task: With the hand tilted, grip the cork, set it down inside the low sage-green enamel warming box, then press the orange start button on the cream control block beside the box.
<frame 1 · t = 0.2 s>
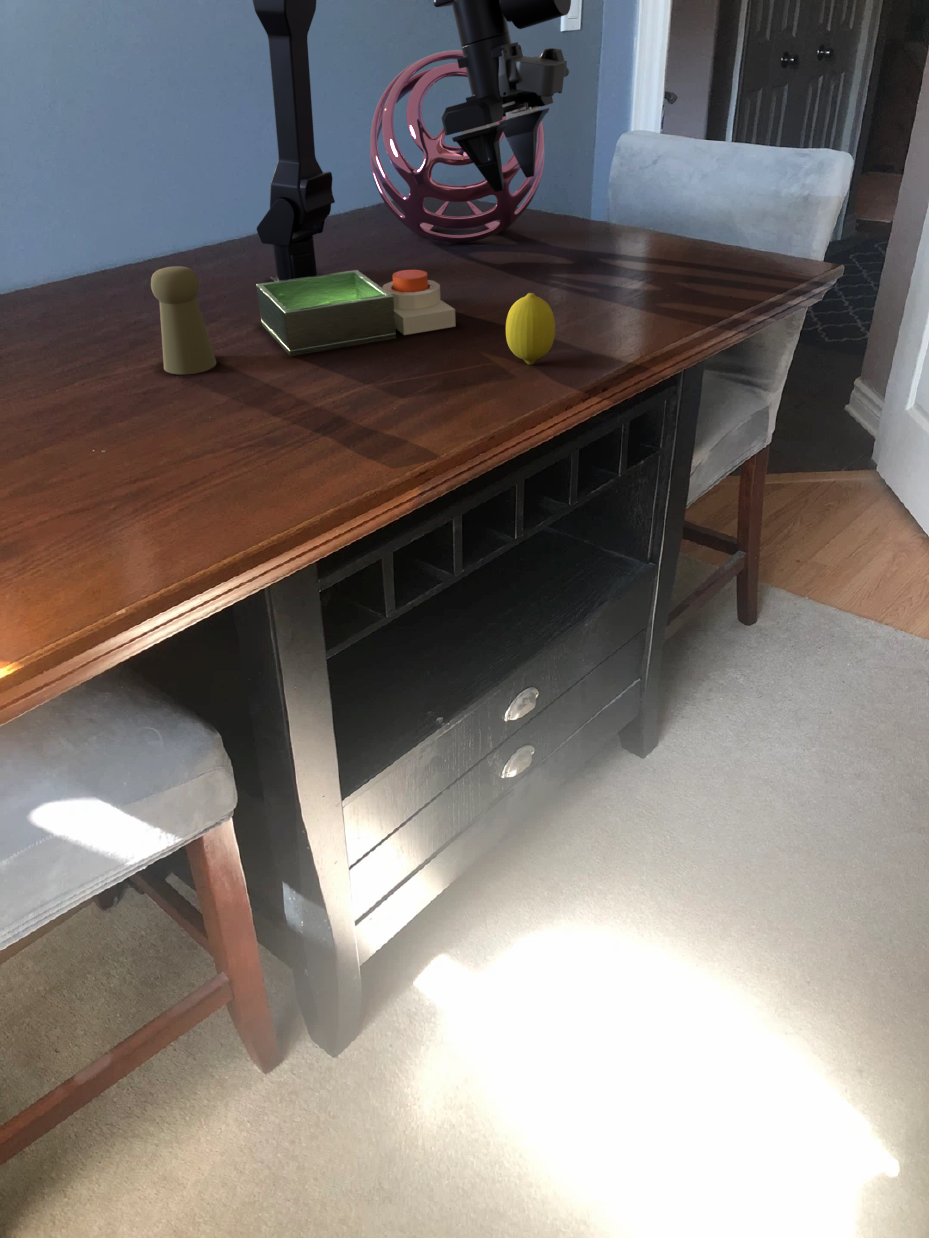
hand: (515, 183, 121), 15 cm above the table, tool pointing down, fingers open, 9 cm apart
start button: (410, 282, 125), point 5 cm above the table, slide at 0.1 cm
control block: (412, 318, 128), on the table
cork: (190, 367, 115), on the table
warming box: (327, 331, 124), on the table
lemon: (530, 366, 113), on the table
pink openwork sphere: (457, 238, 163), on the table
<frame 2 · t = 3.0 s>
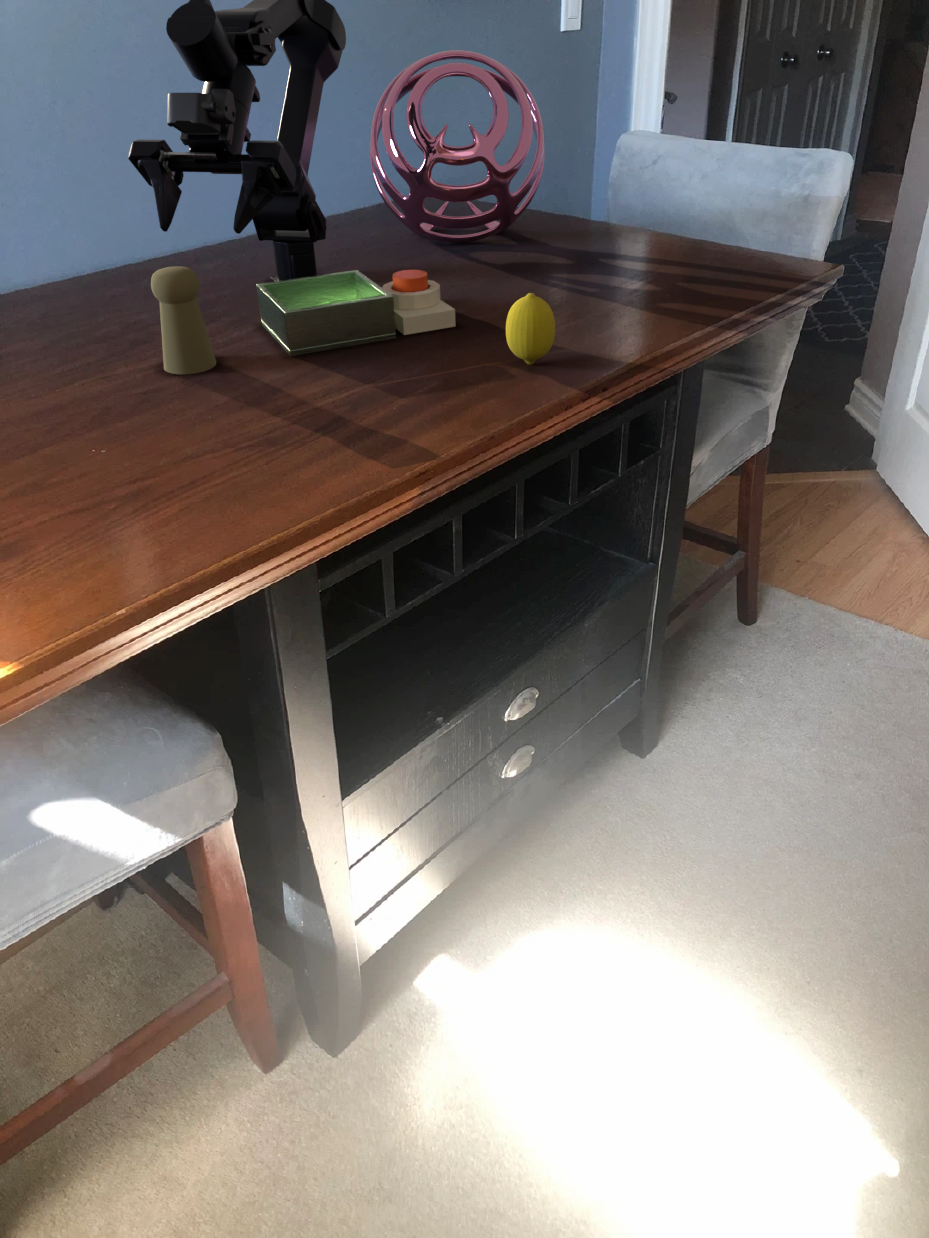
hand: (199, 230, 114), 13 cm above the table, tool tilted 45°, fingers open, 9 cm apart
nothing on the table moved.
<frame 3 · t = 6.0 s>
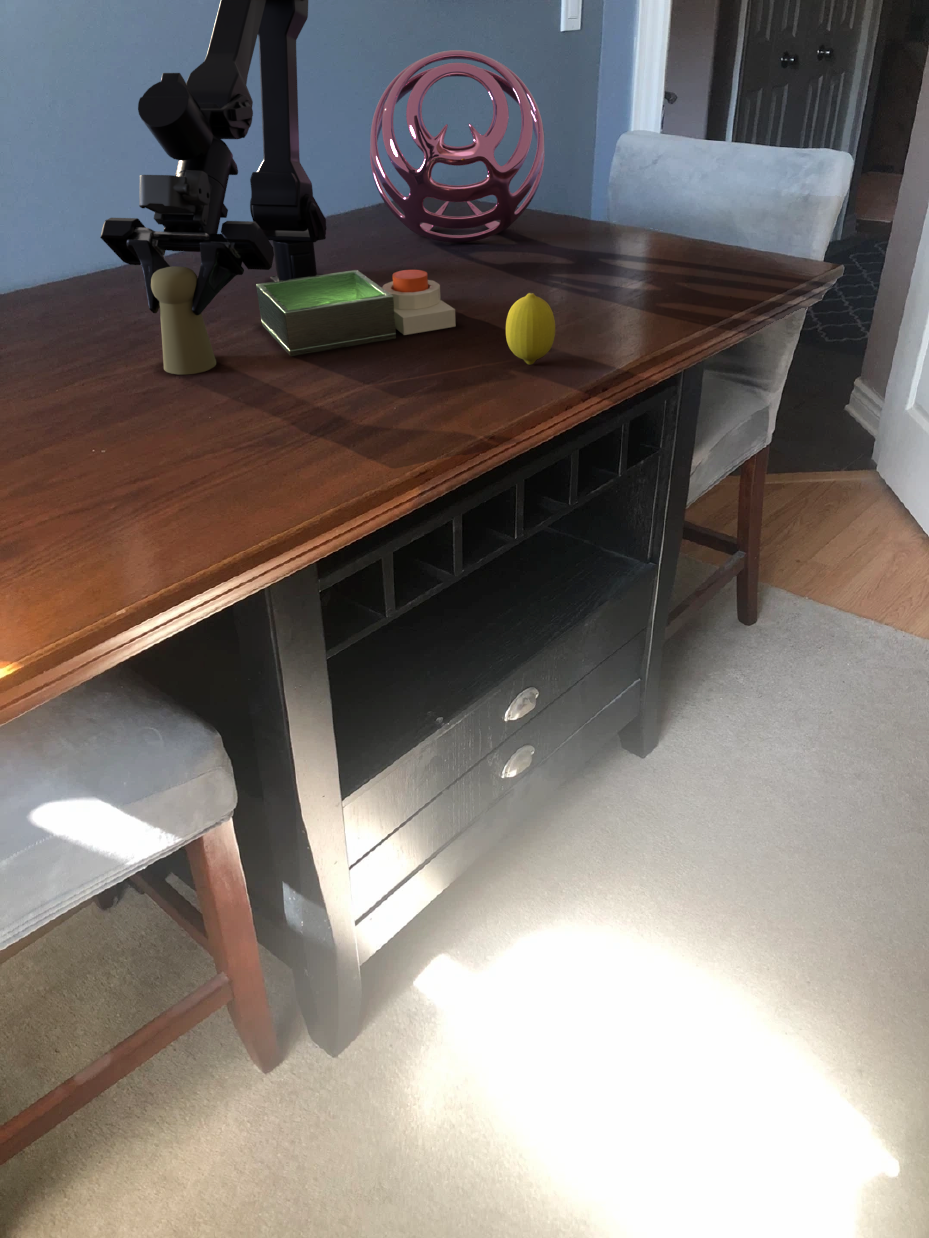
hand: (173, 312, 110), 7 cm above the table, tool tilted 45°, fingers closed on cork, 5 cm apart
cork: (190, 367, 115), on the table, touching gripper
everything else where it was.
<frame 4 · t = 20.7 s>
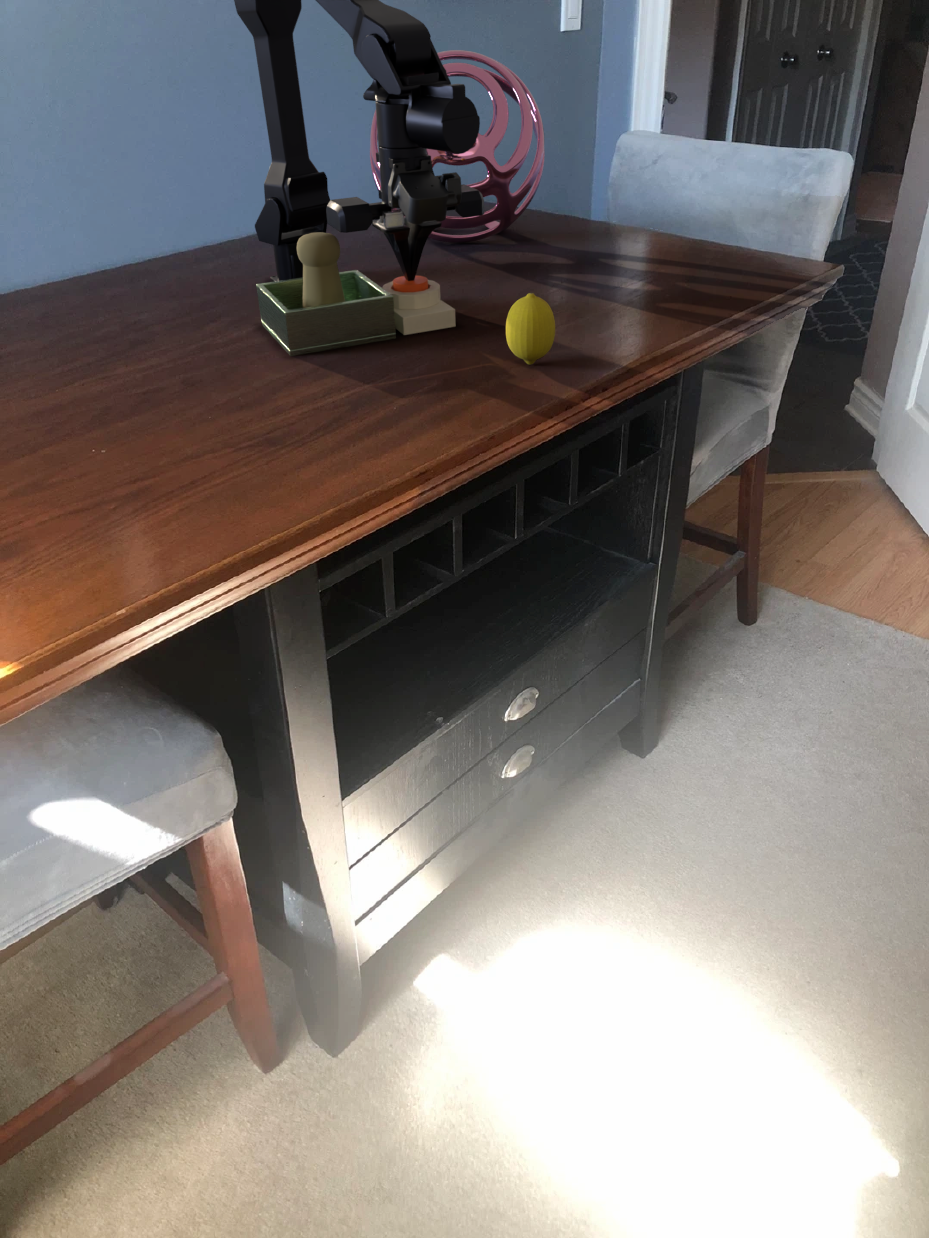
hand: (409, 280, 125), 5 cm above the table, tool pointing down, fingers closed, pressing on start button
start button: (410, 287, 126), point 4 cm above the table, slide at -0.6 cm, touching gripper
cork: (326, 327, 124), point 1 cm above the table, touching warming box
everything else where it was.
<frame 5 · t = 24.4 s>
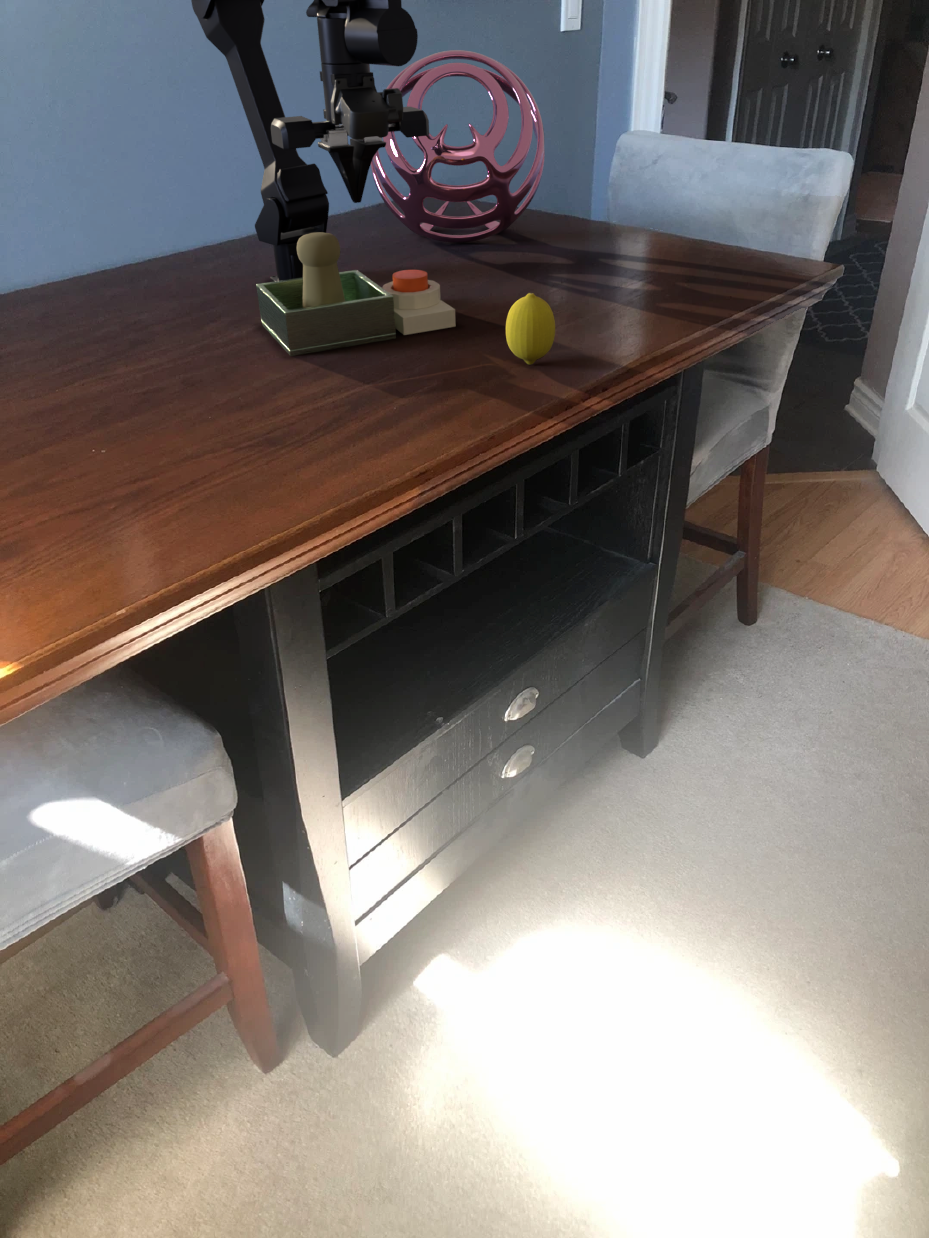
hand: (356, 202, 126), 13 cm above the table, tool pointing down, fingers closed
start button: (410, 282, 125), point 5 cm above the table, slide at 0.1 cm
everything else where it was.
at the end: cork inside the target area in the warming box (0.2 cm from its centre), point 0.5 cm above the warming box's base; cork tilted 0°; start button pushed in 1.1 cm at the most during the clip, back to where it started at the end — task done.
